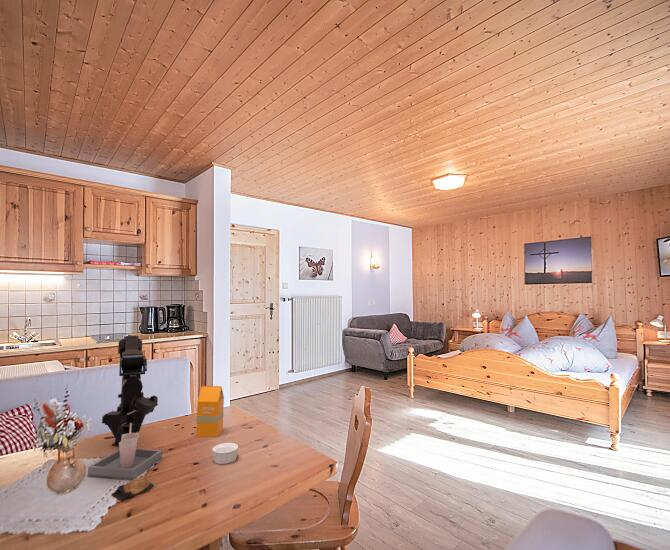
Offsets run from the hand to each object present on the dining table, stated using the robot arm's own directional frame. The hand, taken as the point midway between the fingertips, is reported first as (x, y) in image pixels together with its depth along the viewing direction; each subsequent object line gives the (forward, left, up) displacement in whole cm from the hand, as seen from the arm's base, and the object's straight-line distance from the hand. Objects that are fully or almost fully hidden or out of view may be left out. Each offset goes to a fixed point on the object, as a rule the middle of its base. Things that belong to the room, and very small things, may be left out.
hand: (128, 436), depth 124 cm
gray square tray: (0, 0, -10) cm, 10 cm away
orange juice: (+13, +34, -10) cm, 38 cm away
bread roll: (+13, -13, -11) cm, 21 cm away
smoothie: (0, 0, -10) cm, 10 cm away
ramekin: (+30, +11, -10) cm, 34 cm away
